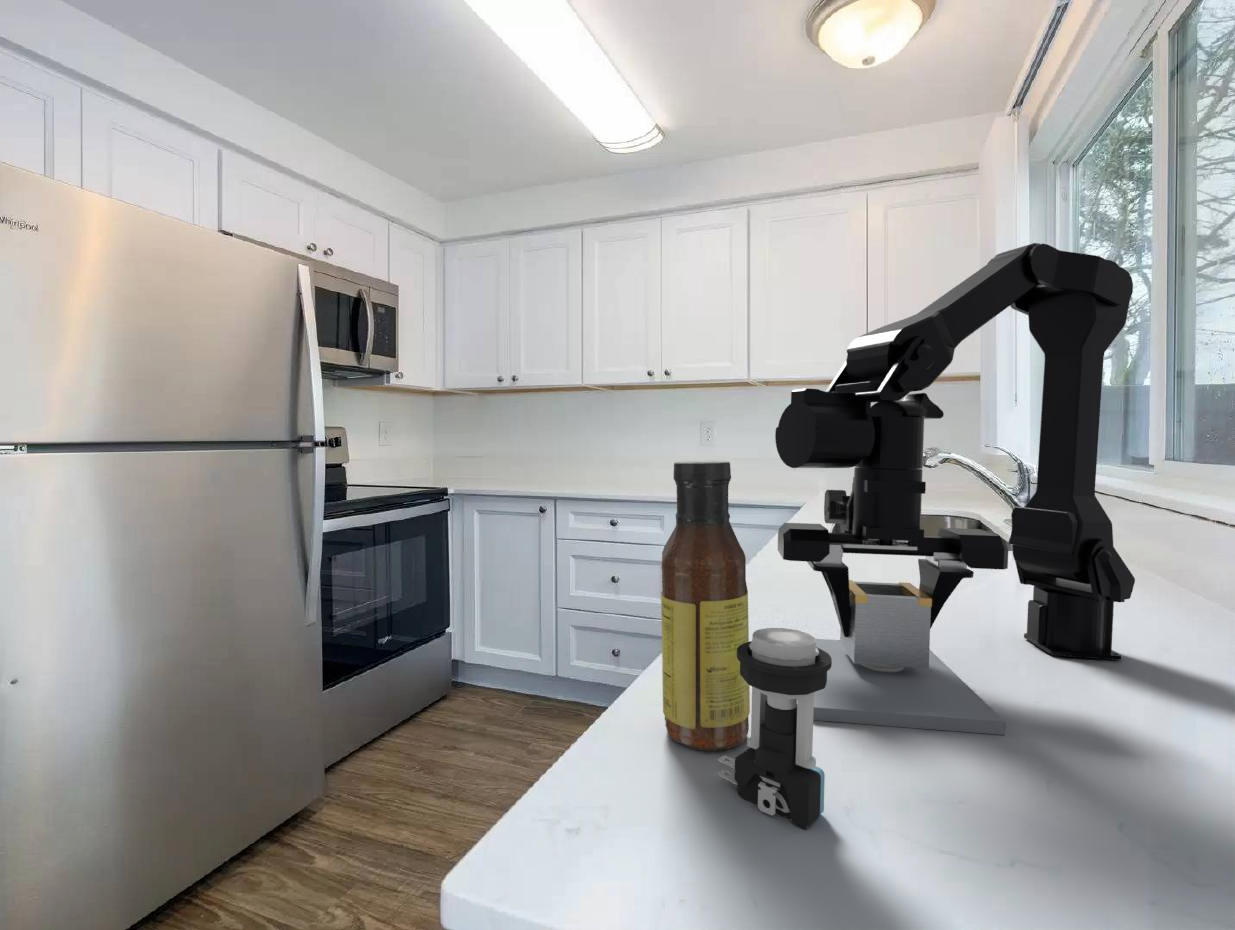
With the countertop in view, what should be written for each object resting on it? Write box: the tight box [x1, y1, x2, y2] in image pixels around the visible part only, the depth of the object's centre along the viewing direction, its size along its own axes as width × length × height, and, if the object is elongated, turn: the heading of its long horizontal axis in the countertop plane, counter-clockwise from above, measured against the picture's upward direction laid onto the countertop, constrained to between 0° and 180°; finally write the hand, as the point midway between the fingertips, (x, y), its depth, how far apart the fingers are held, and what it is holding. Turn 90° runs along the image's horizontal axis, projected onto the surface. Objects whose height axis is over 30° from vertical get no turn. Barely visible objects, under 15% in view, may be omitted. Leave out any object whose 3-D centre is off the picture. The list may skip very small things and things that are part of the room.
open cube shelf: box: [839, 579, 932, 668], centre depth 59 cm, size 6×6×6 cm
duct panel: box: [813, 638, 1006, 736], centre depth 57 cm, size 14×18×6 cm
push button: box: [717, 627, 832, 830], centre depth 38 cm, size 7×5×10 cm
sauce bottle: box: [660, 460, 751, 751], centre depth 46 cm, size 7×6×20 cm
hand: (882, 638), depth 59 cm, fingers closed on open cube shelf, 6 cm apart
